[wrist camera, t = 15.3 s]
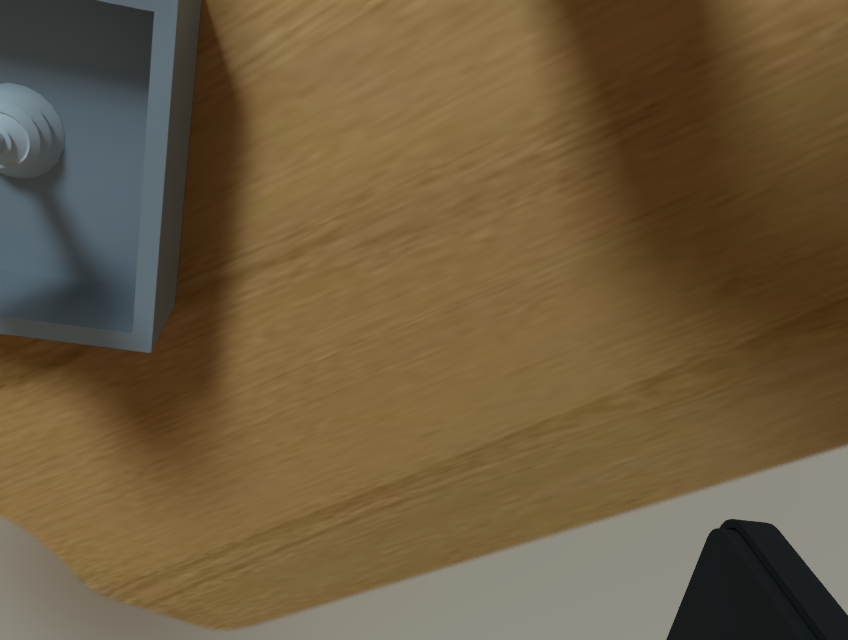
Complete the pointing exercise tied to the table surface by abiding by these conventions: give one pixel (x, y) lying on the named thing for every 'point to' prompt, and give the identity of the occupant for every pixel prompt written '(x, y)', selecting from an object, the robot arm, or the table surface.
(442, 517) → the table surface
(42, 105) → the chalice
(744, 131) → the table surface
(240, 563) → the table surface
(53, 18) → the bin
